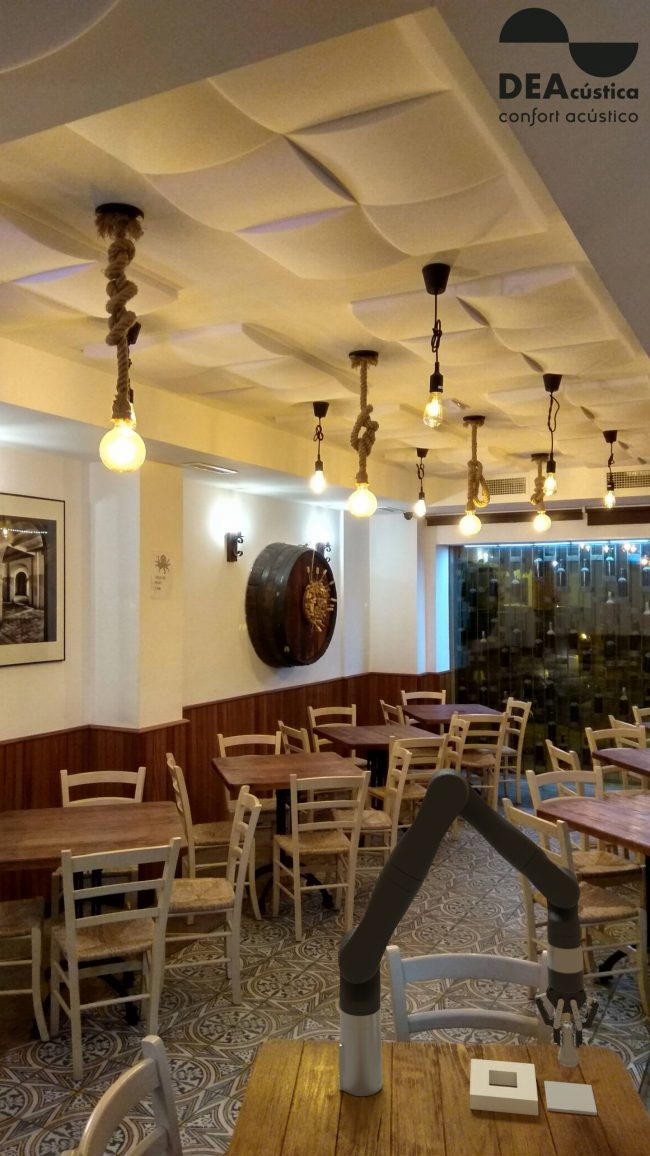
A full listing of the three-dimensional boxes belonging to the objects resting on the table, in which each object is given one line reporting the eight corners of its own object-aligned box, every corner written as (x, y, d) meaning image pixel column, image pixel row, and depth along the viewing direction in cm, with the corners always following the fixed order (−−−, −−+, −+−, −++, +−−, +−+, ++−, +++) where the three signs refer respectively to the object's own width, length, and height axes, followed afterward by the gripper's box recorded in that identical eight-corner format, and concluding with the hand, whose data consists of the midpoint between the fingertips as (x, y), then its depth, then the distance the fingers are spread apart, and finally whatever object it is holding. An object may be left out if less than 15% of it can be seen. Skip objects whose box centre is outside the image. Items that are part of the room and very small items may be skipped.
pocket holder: (470, 1108, 173) (469, 1094, 173) (471, 1072, 187) (471, 1058, 187) (538, 1115, 171) (537, 1100, 171) (534, 1077, 184) (534, 1064, 184)
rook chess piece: (580, 1068, 174) (579, 1030, 174) (558, 1066, 175) (557, 1028, 175) (578, 1057, 178) (576, 1019, 179) (557, 1055, 179) (555, 1018, 179)
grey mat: (547, 1110, 172) (547, 1107, 172) (544, 1083, 182) (544, 1080, 182) (597, 1115, 170) (597, 1112, 170) (591, 1087, 180) (591, 1084, 180)
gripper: (532, 969, 175) (535, 1051, 174) (601, 973, 172) (604, 1057, 172) (530, 954, 182) (533, 1033, 182) (596, 958, 180) (599, 1038, 179)
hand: (568, 1044), depth 177 cm, fingers closed on rook chess piece, 3 cm apart
